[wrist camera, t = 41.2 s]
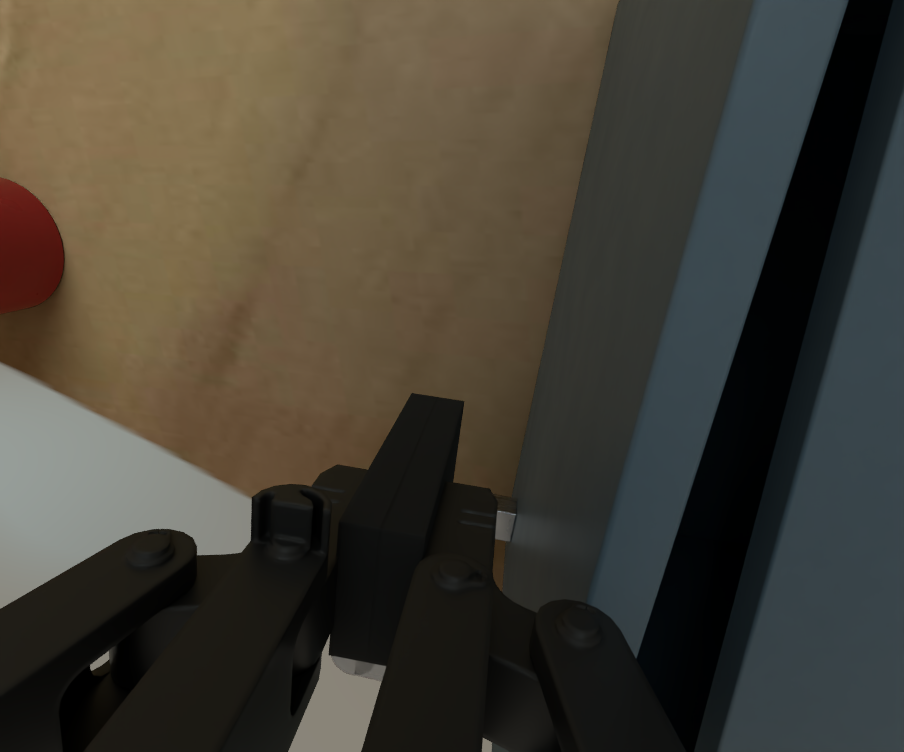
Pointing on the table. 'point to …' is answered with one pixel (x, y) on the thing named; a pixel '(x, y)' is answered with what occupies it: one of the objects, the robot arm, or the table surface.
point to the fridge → (806, 454)
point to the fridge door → (654, 291)
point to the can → (26, 249)
